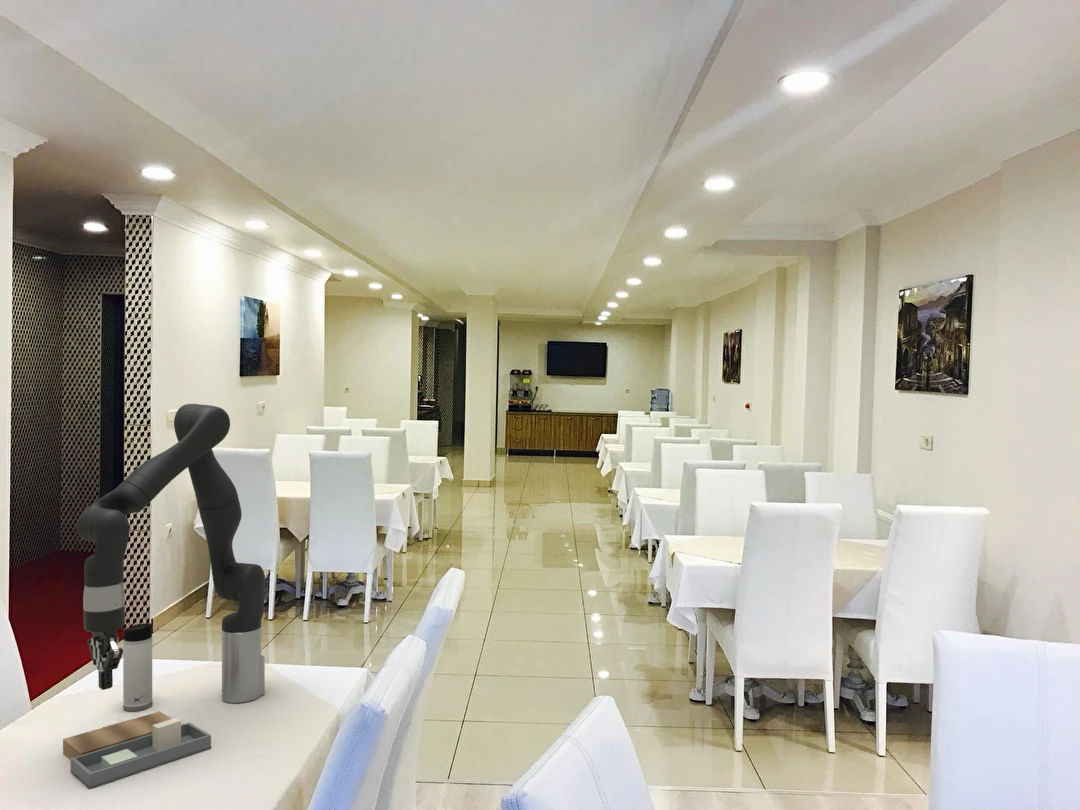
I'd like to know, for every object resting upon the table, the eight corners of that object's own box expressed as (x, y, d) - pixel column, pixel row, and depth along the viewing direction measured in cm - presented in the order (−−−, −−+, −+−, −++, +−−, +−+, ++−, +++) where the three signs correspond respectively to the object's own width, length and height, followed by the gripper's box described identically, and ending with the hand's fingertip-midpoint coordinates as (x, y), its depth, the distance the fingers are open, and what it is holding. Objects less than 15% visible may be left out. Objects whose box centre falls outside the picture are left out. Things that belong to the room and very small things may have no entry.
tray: (189, 734, 181) (189, 722, 180) (211, 748, 174) (211, 735, 174) (70, 772, 163) (70, 758, 163) (89, 789, 156) (89, 774, 156)
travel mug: (141, 713, 192) (141, 628, 192) (117, 710, 194) (117, 627, 193) (159, 703, 198) (159, 621, 198) (135, 700, 200) (135, 619, 199)
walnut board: (159, 724, 186) (159, 711, 186) (179, 737, 179) (179, 723, 179) (63, 753, 171) (63, 739, 171) (80, 768, 164) (80, 753, 164)
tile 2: (175, 717, 176) (181, 720, 175) (175, 740, 177) (181, 743, 175) (152, 725, 173) (157, 728, 171) (152, 748, 173) (158, 751, 171)
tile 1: (137, 756, 164) (137, 768, 164) (127, 748, 167) (127, 760, 167) (111, 764, 160) (111, 776, 160) (101, 756, 163) (101, 768, 163)
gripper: (136, 607, 166) (137, 691, 167) (110, 595, 175) (112, 675, 176) (97, 615, 161) (98, 702, 161) (72, 602, 170) (74, 685, 170)
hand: (105, 687), depth 169 cm, fingers closed
